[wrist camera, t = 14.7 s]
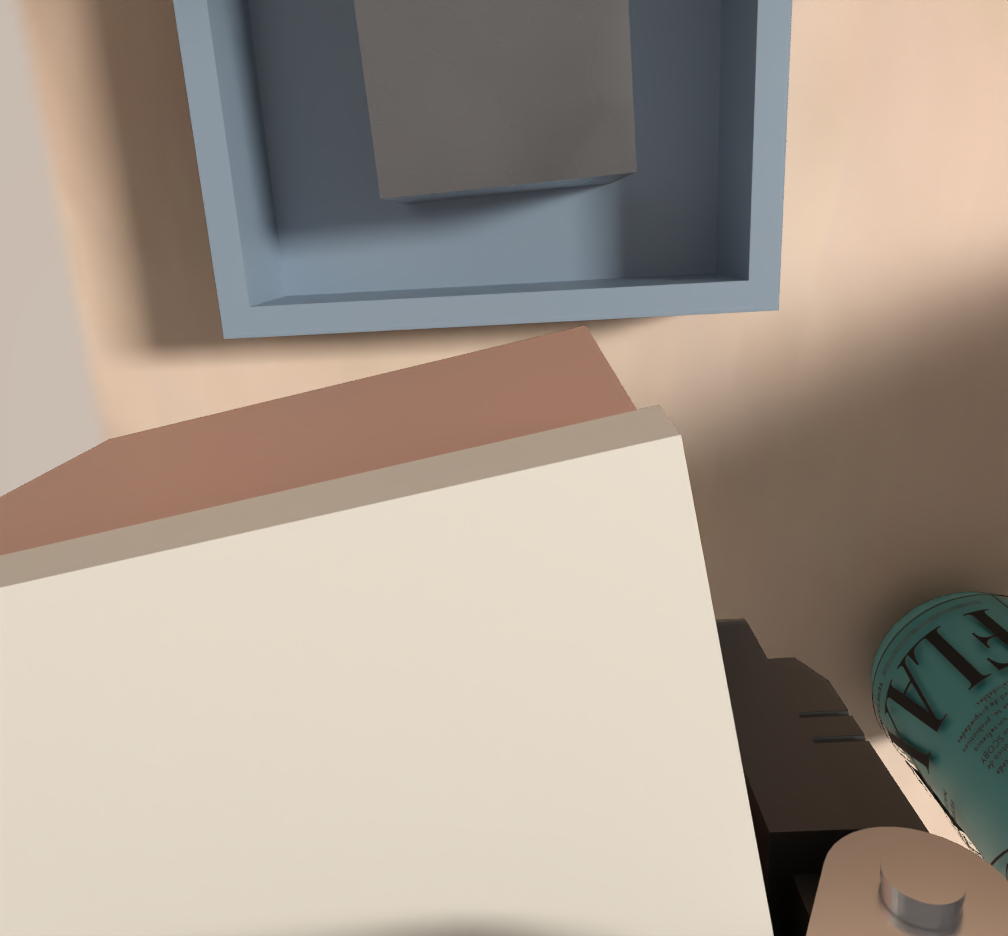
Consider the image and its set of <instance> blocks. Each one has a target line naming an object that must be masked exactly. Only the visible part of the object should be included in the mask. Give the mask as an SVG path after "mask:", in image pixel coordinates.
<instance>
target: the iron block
mask: <svg viewBox="0 0 1008 936" xmlns="http://www.w3.org/2000/svg"><path fill="white" fill-rule="evenodd" d="M354 6H355V14H356V21H357V29H358V36H359V43H360V51H361V58H362V66H363V73H364V81H365V88H366V95H367V103H368V110H369V118H370V125H371V133H372V140H373V148H374V155H375V162H376V170H377V177H378V185H379V192H380V199H383V200H388V201H393V202H397V203H402V204H407V205H408V204H417V203H427V202H436V201H446V200H456V199H465V198H475V197H485V196H494V195H504V194H513V193H523V192H533V191H542V190H552V189H562V188H571V187H581V186H590V185H600V184H610V183H613V182H615V181H618V180H620V179H622V178H624V177H627V176H629V175H631V174H634V173H636V172H637V169H636V148H635V127H634V107H633V86H632V65H631V45H630V24H629V3H628V0H354Z"/></svg>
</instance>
